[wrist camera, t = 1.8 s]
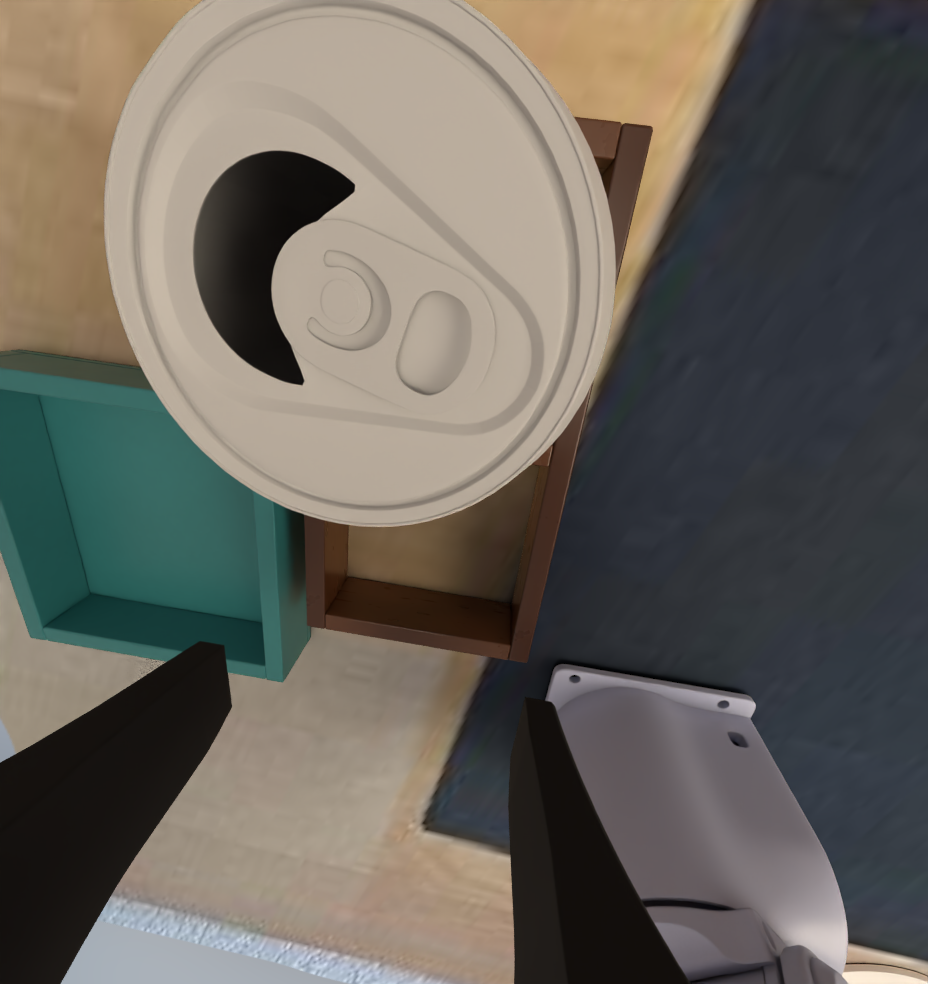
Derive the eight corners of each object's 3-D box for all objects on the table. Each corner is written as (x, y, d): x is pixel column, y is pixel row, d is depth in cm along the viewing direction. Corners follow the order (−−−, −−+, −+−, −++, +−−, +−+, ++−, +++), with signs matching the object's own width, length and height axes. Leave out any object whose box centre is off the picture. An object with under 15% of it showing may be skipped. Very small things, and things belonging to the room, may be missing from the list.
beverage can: (407, 160, 14) (64, -290, 3) (585, 246, 15) (792, 93, 4) (350, 350, 17) (49, 441, 6) (504, 418, 17) (488, 621, 6)
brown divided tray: (628, 157, 14) (655, 124, 11) (525, 619, 21) (527, 663, 18) (332, 122, 14) (292, 83, 12) (331, 587, 21) (306, 626, 19)
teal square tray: (305, 391, 18) (267, 407, 15) (311, 637, 23) (283, 683, 20) (19, 349, 18) (-68, 357, 16) (86, 598, 23) (29, 638, 21)
